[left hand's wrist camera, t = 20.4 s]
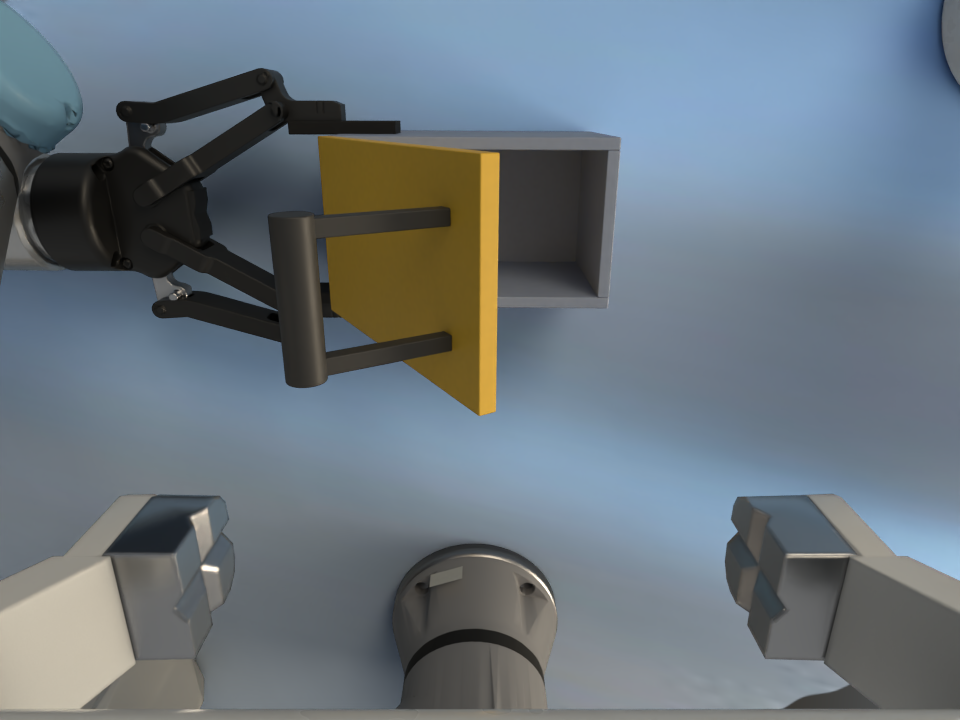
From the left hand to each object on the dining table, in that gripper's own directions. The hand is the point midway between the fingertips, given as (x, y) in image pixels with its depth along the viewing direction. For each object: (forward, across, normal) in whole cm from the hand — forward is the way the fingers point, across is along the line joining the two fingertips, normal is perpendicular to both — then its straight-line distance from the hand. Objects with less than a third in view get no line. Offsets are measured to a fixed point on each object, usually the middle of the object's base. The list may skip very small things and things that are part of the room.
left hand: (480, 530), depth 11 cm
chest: (+41, 0, 0) cm, 41 cm away
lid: (+22, -4, 0) cm, 23 cm away
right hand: (+35, -5, 0) cm, 35 cm away
